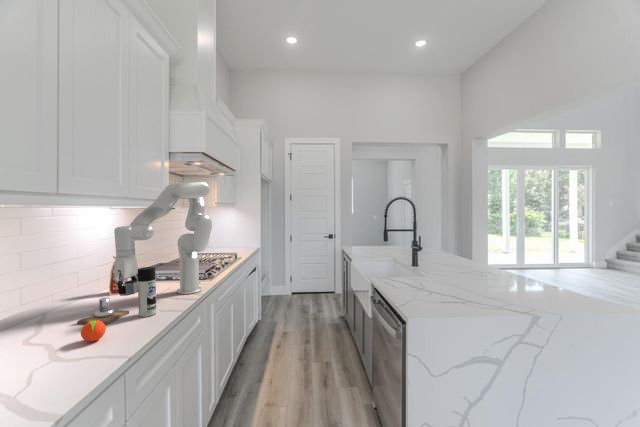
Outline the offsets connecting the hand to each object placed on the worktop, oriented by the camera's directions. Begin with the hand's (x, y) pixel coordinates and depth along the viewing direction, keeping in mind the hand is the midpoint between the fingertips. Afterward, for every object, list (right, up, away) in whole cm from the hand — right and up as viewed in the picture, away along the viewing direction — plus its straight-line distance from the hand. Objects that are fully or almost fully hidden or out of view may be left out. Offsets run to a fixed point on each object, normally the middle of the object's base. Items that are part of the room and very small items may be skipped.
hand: (128, 290), depth 142 cm
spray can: (+15, -8, -11) cm, 20 cm away
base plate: (-1, -8, -15) cm, 17 cm away
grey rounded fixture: (-1, -6, -15) cm, 16 cm away
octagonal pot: (0, -1, 0) cm, 1 cm away
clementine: (+11, -8, -37) cm, 39 cm away
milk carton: (-20, -7, +24) cm, 32 cm away
